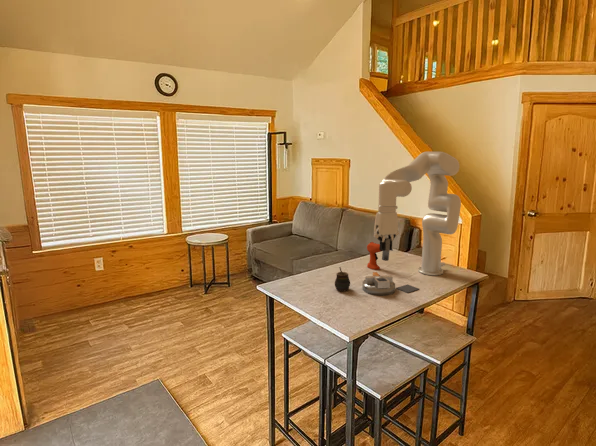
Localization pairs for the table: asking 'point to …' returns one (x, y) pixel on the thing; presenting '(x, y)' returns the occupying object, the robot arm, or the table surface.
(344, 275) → the mate gourd
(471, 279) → the table surface
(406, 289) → the mat
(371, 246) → the toy drill
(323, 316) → the table surface
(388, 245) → the grey pestle
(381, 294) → the chuck base
